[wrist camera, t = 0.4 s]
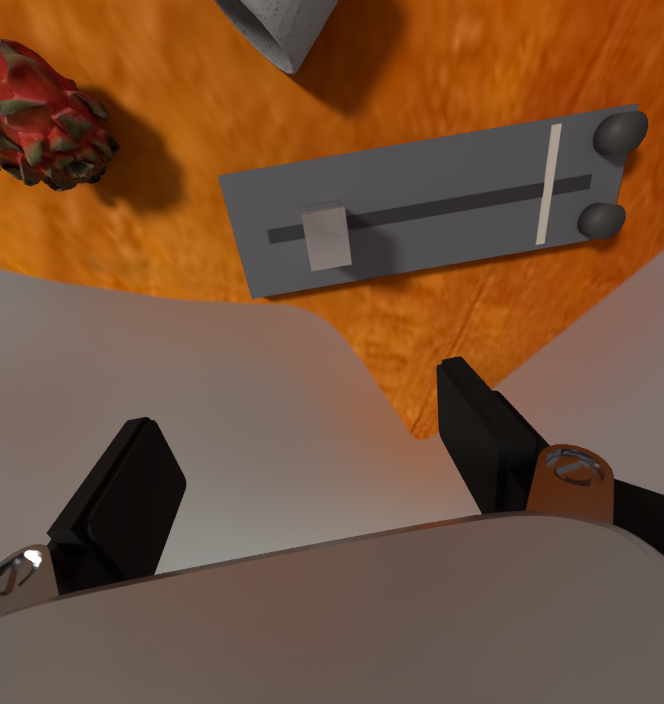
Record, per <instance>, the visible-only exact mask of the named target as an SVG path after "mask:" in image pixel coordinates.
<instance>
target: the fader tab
mask: <svg viewBox="0 0 664 704" xmlns="http://www.w3.org/2000/svg"><path fill="white" fill-rule="evenodd" d="M302 212H303V213H301V216H302V222H303V227H304V233H305V238H306V244H307V249H308V255H309V260H310V266H311V271H317V270H323V269H328V268H334V267H340V266H346V265H351V264H352V262H351V254H350V246H349V238H348V229H347V221H346V213H345V207H344V206H340V205H339V204H338V203H337V202H330V203H324V204H318V205H313V206H307V207H302Z"/></svg>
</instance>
